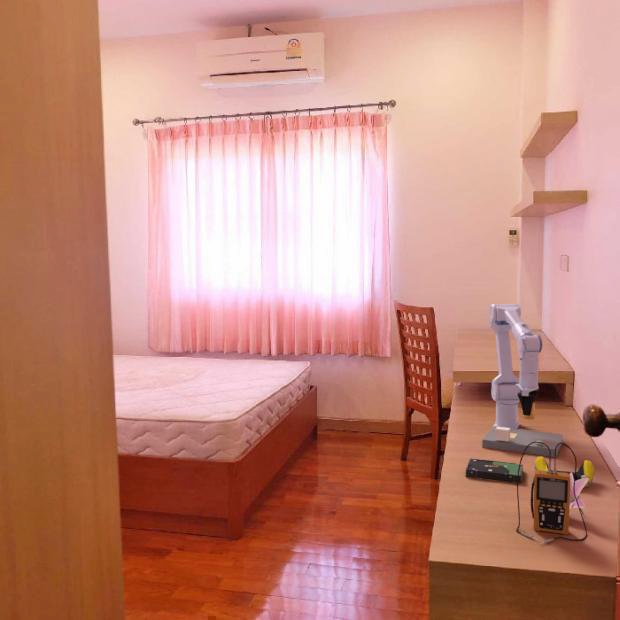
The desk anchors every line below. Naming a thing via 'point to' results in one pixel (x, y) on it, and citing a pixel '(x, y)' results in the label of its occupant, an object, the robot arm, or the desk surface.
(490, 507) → the desk surface
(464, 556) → the desk surface
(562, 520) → the multimeter
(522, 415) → the cap
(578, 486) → the lily
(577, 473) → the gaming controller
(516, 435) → the panel
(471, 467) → the disk drive
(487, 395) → the desk surface
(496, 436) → the lever
